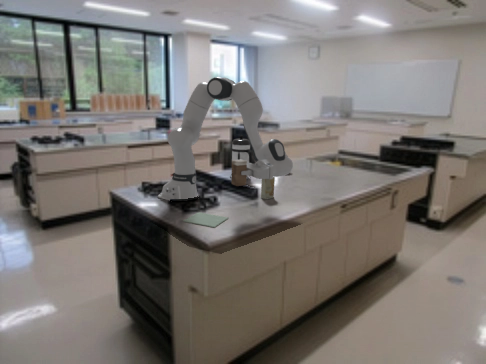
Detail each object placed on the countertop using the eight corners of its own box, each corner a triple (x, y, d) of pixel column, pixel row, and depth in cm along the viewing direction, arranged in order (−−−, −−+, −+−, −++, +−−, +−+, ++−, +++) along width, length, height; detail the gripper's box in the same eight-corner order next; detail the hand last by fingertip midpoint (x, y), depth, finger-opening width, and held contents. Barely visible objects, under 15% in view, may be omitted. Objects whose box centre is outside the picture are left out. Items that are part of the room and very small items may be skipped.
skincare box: (265, 199, 189) (266, 178, 186) (260, 197, 193) (261, 176, 190) (274, 197, 193) (275, 176, 190) (269, 196, 196) (270, 175, 193)
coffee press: (226, 180, 232) (226, 135, 224) (233, 175, 246) (234, 133, 239) (250, 182, 227) (252, 137, 219) (257, 177, 241) (258, 134, 234)
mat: (183, 221, 153) (183, 220, 153) (198, 213, 165) (198, 212, 165) (214, 227, 147) (214, 226, 147) (228, 218, 159) (228, 217, 158)
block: (231, 183, 158) (231, 160, 156) (240, 182, 161) (241, 159, 158) (236, 186, 154) (237, 162, 152) (246, 184, 157) (246, 161, 154)
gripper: (251, 158, 170) (226, 160, 164) (275, 166, 153) (249, 169, 147) (251, 171, 172) (226, 173, 165) (274, 180, 155) (248, 183, 148)
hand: (237, 171), depth 156 cm, fingers closed on block, 5 cm apart
